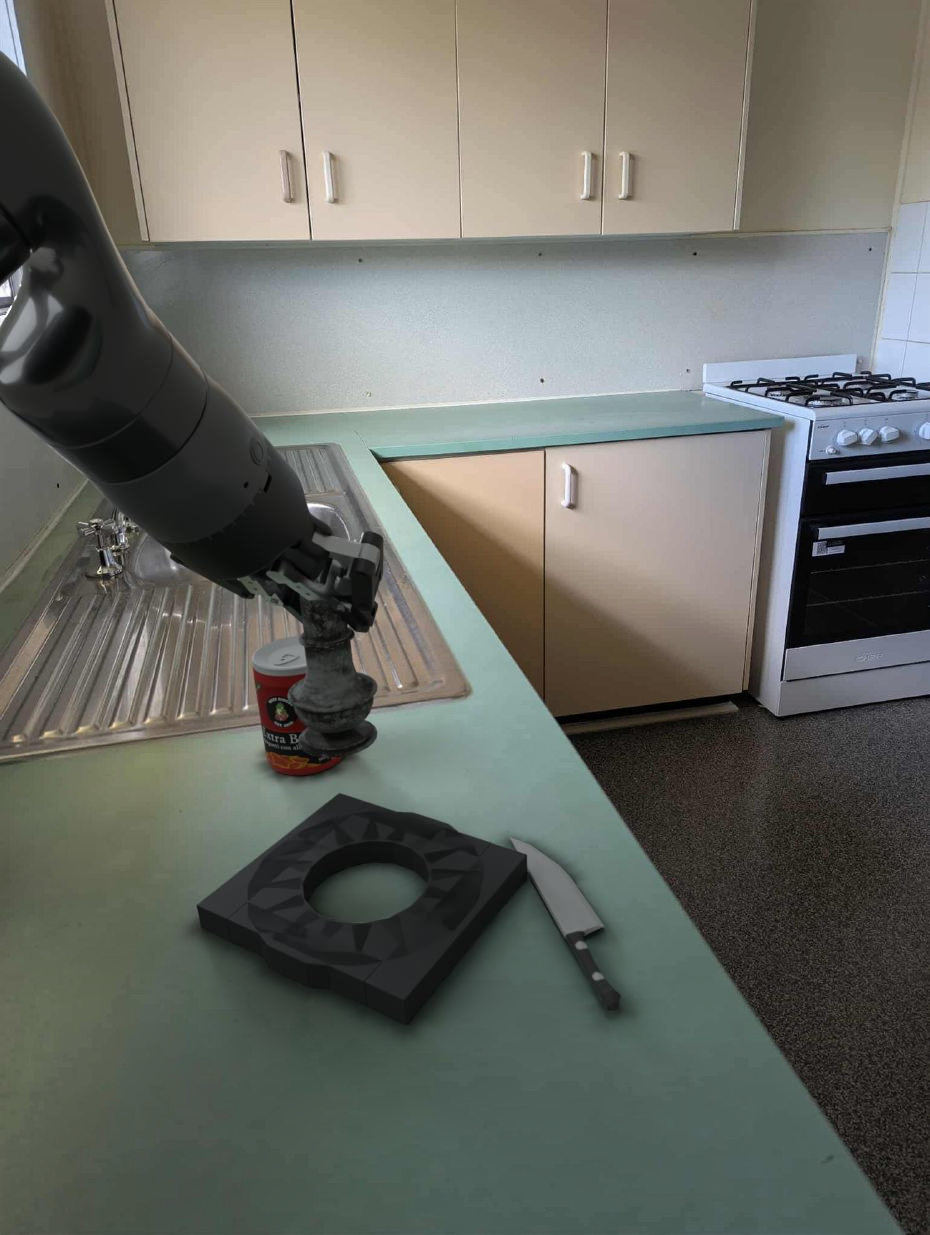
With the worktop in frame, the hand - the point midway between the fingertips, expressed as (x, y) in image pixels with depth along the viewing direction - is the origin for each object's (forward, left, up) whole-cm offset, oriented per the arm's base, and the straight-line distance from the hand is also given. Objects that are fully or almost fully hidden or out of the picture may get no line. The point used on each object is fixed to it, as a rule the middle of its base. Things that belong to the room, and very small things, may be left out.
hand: (341, 616), depth 57 cm
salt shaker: (0, -2, -8) cm, 8 cm away
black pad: (+1, -1, -22) cm, 22 cm away
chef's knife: (+14, +5, -22) cm, 27 cm away
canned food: (-17, +13, -22) cm, 31 cm away
